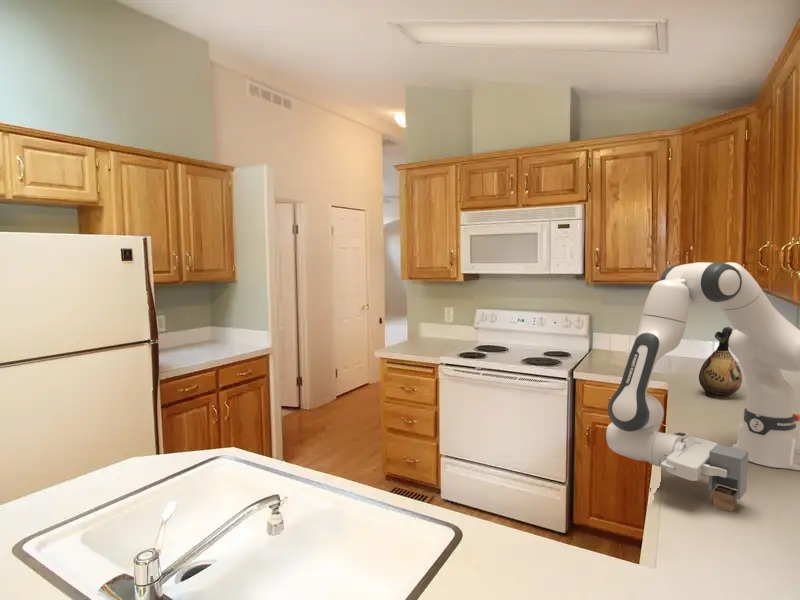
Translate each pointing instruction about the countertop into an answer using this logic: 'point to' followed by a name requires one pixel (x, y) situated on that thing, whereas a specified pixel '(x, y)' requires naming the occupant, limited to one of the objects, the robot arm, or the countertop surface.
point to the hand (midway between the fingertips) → (732, 468)
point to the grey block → (729, 468)
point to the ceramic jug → (721, 370)
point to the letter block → (725, 498)
